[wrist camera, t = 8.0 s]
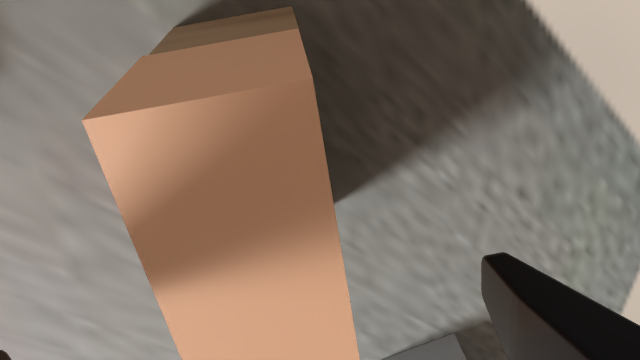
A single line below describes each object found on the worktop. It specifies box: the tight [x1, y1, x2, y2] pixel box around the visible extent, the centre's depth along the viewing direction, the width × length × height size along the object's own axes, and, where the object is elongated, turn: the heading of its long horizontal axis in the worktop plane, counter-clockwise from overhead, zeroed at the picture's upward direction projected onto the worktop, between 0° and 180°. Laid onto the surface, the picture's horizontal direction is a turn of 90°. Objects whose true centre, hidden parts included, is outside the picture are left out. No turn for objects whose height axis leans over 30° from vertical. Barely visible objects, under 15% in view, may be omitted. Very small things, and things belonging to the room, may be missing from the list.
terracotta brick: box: [82, 28, 360, 360], centre depth 12 cm, size 8×4×4 cm, turn 9°
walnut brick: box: [149, 6, 300, 55], centre depth 16 cm, size 8×4×4 cm, turn 9°
